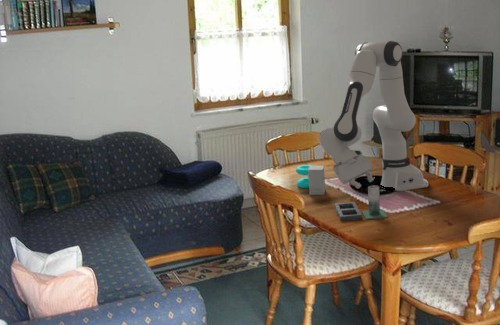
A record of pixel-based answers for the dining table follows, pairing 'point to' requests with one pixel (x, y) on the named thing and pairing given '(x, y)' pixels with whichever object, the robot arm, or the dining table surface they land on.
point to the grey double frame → (348, 211)
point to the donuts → (303, 171)
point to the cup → (373, 200)
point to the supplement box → (316, 180)
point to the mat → (367, 216)
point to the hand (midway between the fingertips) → (365, 184)
